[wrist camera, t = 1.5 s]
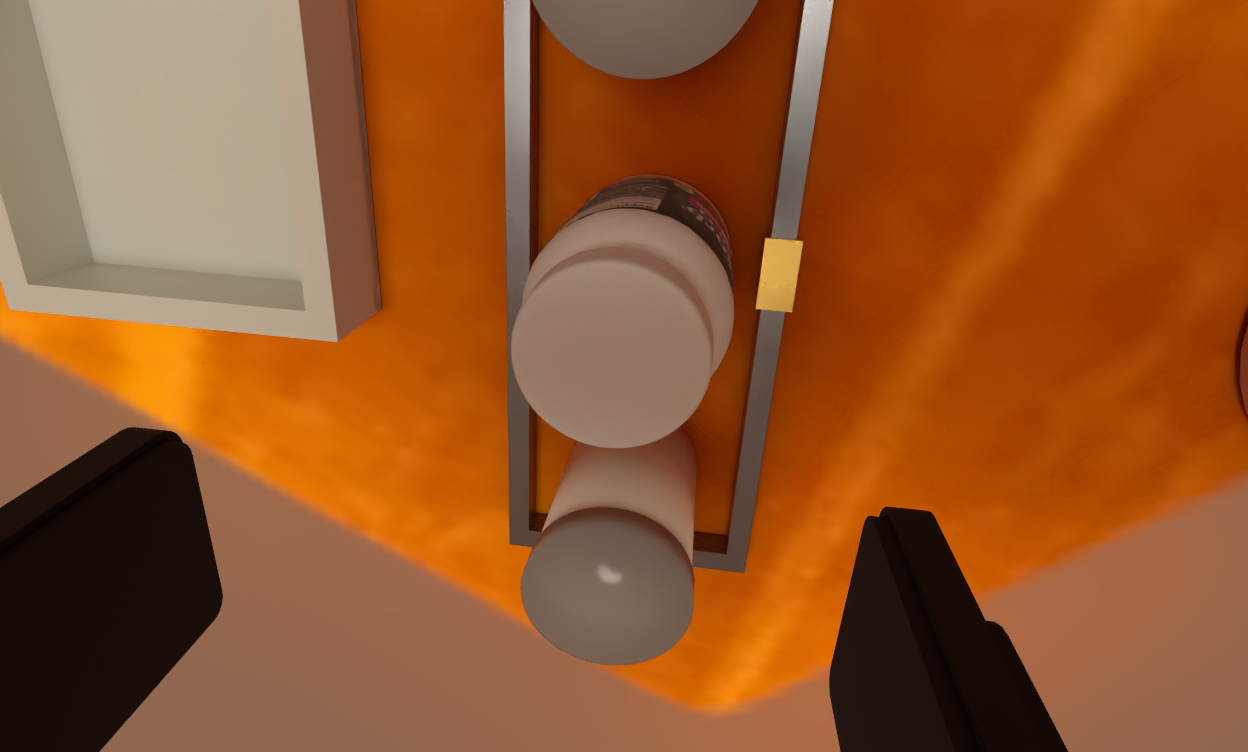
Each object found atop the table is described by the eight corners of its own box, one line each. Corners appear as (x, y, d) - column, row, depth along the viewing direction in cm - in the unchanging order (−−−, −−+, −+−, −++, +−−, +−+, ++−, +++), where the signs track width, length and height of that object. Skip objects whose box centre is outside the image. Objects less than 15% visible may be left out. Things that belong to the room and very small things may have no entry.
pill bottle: (753, 301, 26) (771, 434, 17) (604, 349, 27) (547, 495, 18) (700, 144, 24) (689, 198, 15) (543, 205, 25) (446, 288, 16)
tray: (350, -57, 22) (289, -75, 19) (381, 308, 27) (337, 342, 24) (-3, -75, 24) (-116, -95, 20) (89, 281, 28) (9, 309, 25)
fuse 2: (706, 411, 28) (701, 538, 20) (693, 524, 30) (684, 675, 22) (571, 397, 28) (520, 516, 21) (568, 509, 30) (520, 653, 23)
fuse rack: (861, -169, 20) (871, -184, 19) (748, 554, 30) (749, 576, 29) (512, -181, 21) (499, -197, 19) (517, 527, 31) (508, 547, 30)
